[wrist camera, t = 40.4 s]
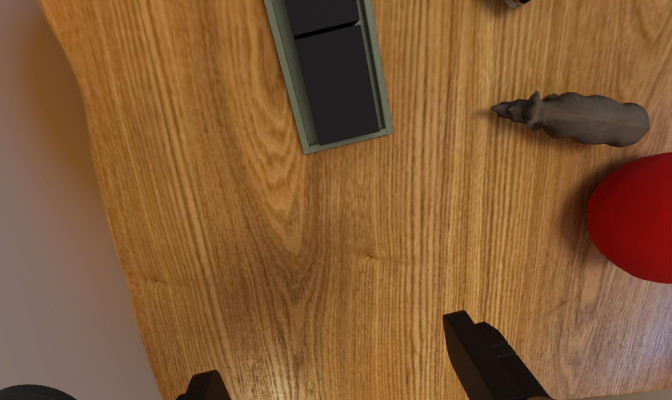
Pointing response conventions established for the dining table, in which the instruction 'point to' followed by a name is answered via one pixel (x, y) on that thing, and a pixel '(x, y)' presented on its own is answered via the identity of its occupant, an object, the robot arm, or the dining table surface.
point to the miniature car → (512, 4)
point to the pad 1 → (320, 16)
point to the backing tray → (296, 82)
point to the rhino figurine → (580, 118)
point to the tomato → (635, 217)
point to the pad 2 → (338, 84)
